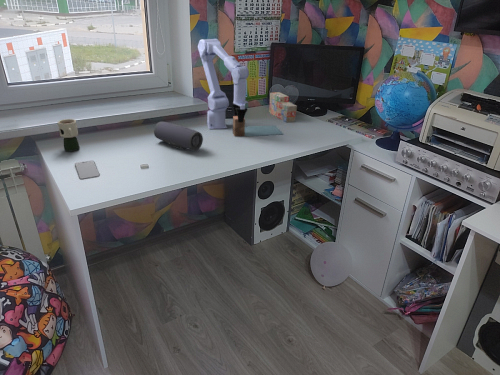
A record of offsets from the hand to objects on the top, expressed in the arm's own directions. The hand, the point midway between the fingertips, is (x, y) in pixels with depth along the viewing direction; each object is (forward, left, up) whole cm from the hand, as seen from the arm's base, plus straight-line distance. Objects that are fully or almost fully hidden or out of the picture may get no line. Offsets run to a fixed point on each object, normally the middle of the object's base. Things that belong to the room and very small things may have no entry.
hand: (239, 119), depth 188 cm
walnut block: (0, 0, -8) cm, 8 cm away
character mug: (-77, -10, -8) cm, 78 cm away
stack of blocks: (+32, +28, -8) cm, 43 cm away
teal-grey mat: (+13, +4, -8) cm, 16 cm away
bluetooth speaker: (-31, -12, -8) cm, 34 cm away
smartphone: (-68, -33, -8) cm, 76 cm away
